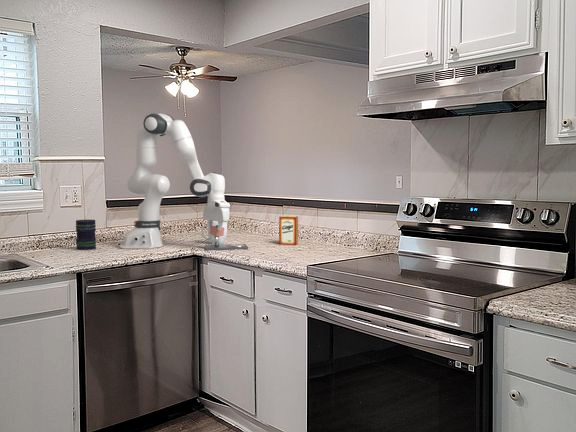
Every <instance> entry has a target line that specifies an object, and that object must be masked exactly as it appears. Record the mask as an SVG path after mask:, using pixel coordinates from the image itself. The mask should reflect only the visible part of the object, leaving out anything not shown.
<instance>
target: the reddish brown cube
mask: <svg viewBox="0 0 576 432" xmlns="http://www.w3.org/2000/svg"><path fill="white" fill-rule="evenodd" d="M217 227H218V225H216V226H210V234H211V235H214V236H223V235H224V228H223V227H221V230H217Z"/></svg>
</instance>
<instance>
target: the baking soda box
mask: <svg viewBox="0 0 576 432" xmlns="http://www.w3.org/2000/svg"><path fill="white" fill-rule="evenodd" d="M278 218H279V220H278V221H279V225H278V226H279V227H278V229H279V230H278V231H279V232H278V236H279V237H278V238H279V239H278V241H279V242H278V243H279V246H297V245H298V244H299V216H298V215H289V214H288V215H280V216H279V217H278Z"/></svg>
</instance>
